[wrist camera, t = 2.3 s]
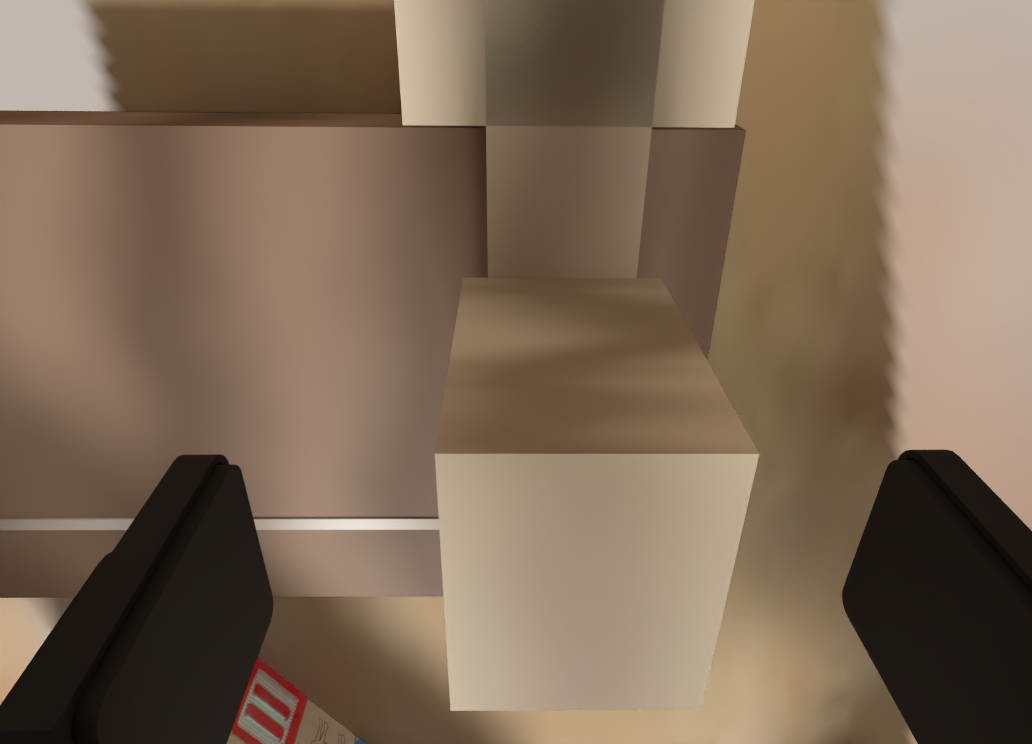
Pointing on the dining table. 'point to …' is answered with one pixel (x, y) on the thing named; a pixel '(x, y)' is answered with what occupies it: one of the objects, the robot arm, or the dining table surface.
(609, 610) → the beige block
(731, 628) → the dining table surface
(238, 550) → the robot arm
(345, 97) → the dining table surface
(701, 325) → the board
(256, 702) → the stack of blocks
